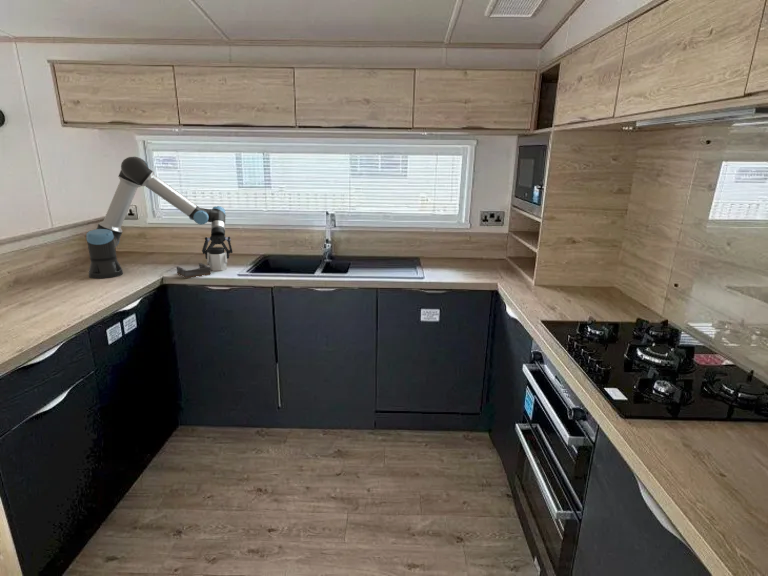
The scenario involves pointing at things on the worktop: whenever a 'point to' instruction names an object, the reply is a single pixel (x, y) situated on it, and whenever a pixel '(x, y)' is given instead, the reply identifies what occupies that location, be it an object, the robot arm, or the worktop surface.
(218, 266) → the jar
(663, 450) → the worktop surface
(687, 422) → the worktop surface
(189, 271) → the keeper bracket
